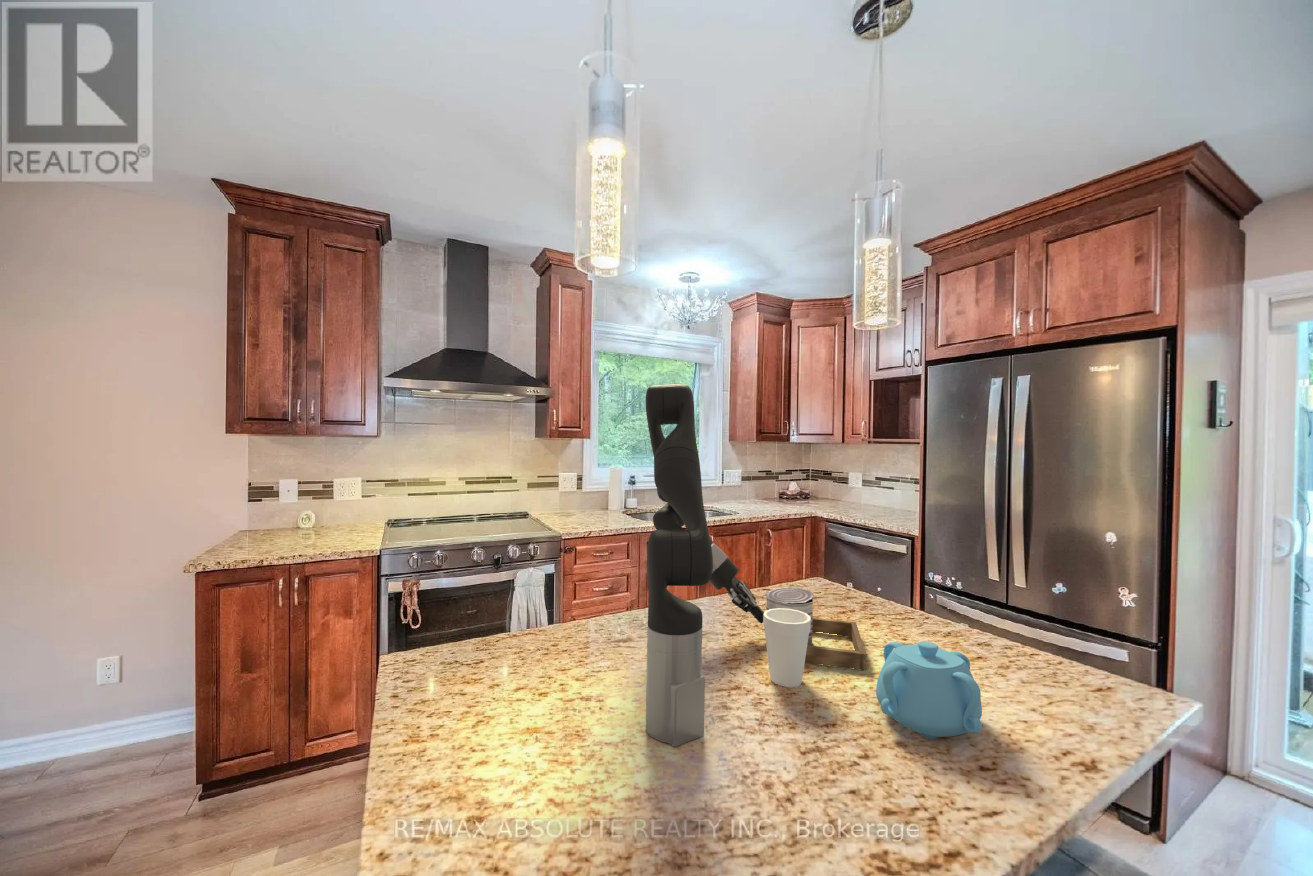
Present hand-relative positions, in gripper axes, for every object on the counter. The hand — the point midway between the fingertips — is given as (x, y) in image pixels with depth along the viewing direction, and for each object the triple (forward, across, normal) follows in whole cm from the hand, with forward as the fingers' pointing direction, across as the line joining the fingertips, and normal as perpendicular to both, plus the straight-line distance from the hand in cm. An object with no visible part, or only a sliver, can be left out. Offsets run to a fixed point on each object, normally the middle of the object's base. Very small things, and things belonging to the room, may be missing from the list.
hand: (764, 620), depth 125 cm
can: (+8, 0, -1) cm, 8 cm away
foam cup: (+8, -20, 0) cm, 22 cm away
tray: (+12, 0, -5) cm, 13 cm away
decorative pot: (+24, -29, -18) cm, 42 cm away
